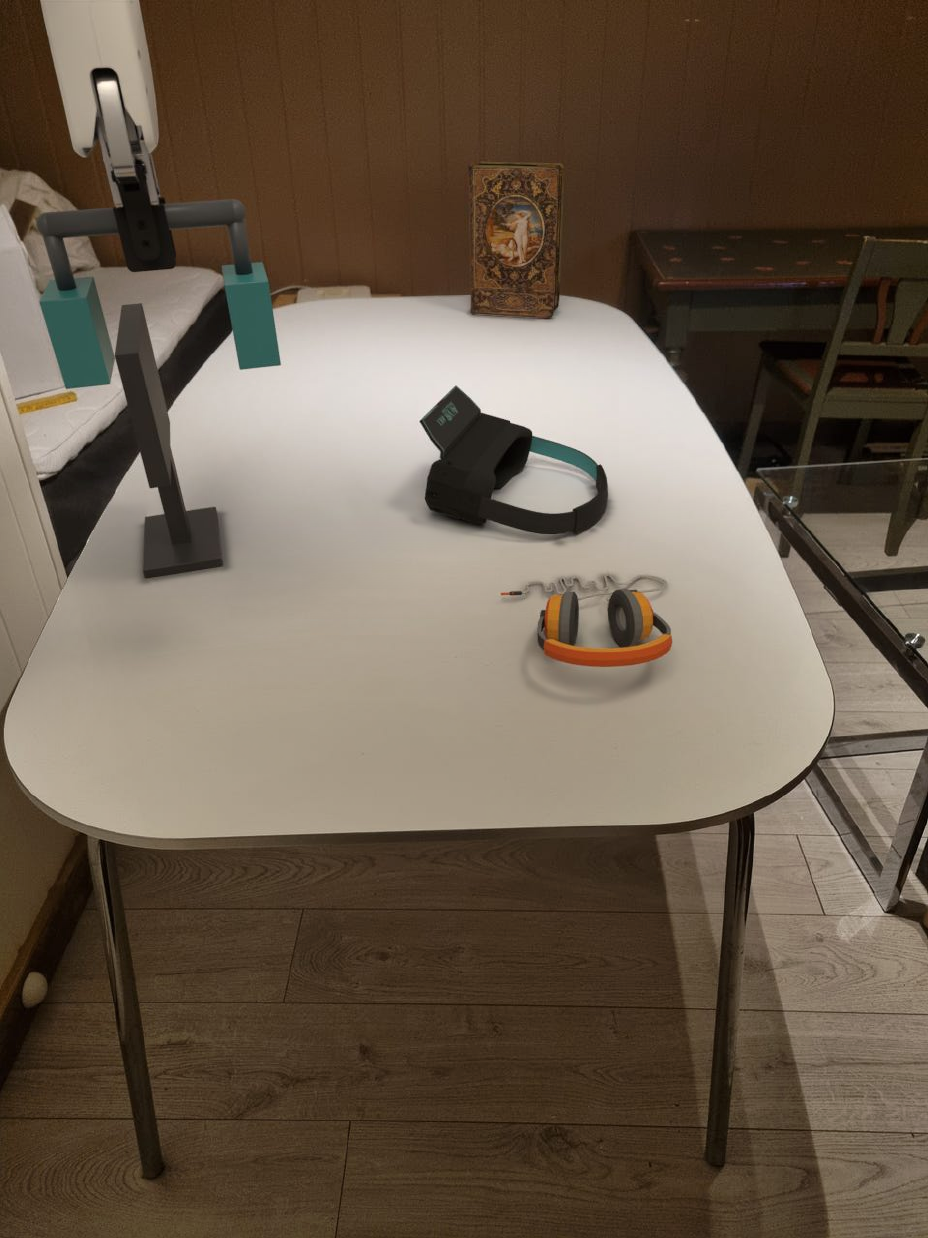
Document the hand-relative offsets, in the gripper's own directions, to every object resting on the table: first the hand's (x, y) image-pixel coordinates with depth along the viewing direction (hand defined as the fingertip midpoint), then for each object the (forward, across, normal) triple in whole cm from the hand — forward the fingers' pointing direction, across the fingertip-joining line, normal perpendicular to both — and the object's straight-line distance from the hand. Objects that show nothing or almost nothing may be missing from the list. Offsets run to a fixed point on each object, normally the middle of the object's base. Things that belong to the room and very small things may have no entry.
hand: (152, 263), depth 59 cm
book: (+34, -91, +56) cm, 112 cm away
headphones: (+34, +7, +32) cm, 48 cm away
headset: (+7, 0, 0) cm, 7 cm away
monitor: (+34, -21, -5) cm, 41 cm away
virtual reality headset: (+34, -20, +34) cm, 52 cm away
